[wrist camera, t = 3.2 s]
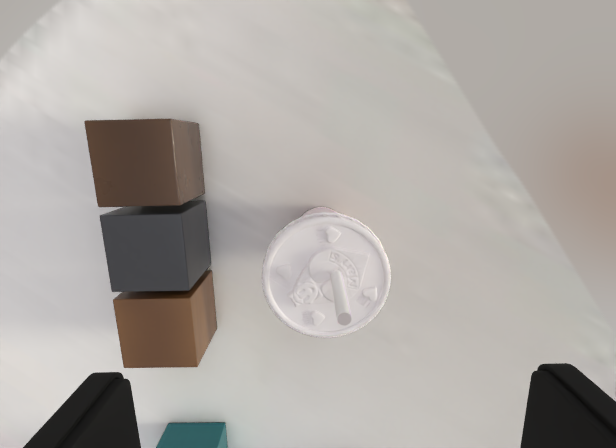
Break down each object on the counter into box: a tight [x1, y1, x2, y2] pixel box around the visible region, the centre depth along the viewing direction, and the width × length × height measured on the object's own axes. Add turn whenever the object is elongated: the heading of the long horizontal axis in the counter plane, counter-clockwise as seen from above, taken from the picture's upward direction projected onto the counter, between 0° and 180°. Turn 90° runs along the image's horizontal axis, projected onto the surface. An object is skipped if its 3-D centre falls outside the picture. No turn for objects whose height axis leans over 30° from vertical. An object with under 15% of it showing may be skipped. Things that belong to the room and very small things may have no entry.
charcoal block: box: [100, 201, 211, 292], centre depth 24 cm, size 5×5×5 cm
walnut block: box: [85, 119, 205, 207], centre depth 23 cm, size 5×5×5 cm
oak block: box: [113, 271, 217, 368], centre depth 25 cm, size 5×5×5 cm
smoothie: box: [262, 207, 391, 338], centre depth 19 cm, size 6×6×14 cm
